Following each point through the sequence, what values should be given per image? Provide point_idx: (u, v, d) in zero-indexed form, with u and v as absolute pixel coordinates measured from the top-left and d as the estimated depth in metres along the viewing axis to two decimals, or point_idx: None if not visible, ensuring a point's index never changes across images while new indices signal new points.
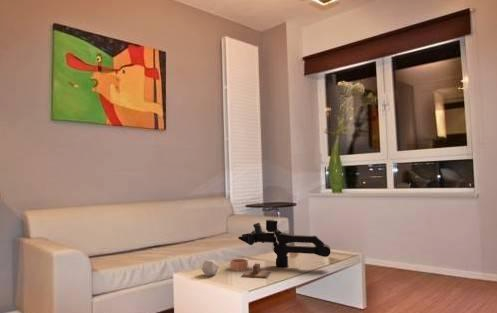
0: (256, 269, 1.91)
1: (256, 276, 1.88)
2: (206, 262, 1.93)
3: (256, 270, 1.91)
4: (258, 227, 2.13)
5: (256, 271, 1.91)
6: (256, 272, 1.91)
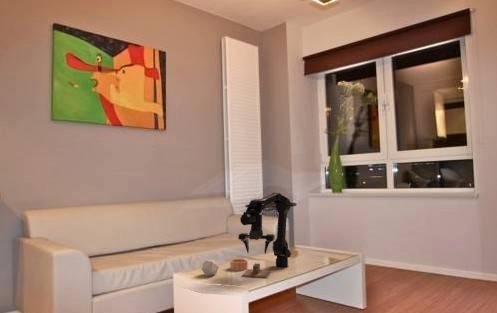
0: (256, 269, 1.91)
1: (256, 276, 1.88)
2: (206, 262, 1.93)
3: (256, 270, 1.91)
4: (262, 232, 1.88)
5: (256, 271, 1.91)
6: (256, 272, 1.91)
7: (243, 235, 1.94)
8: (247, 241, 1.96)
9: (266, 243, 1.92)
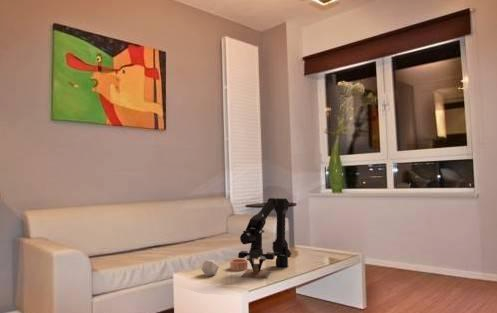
0: (256, 269, 1.91)
1: (256, 276, 1.88)
2: (206, 262, 1.93)
3: (256, 270, 1.91)
4: (262, 251, 1.88)
5: (256, 271, 1.91)
6: (256, 272, 1.91)
7: (243, 253, 1.93)
8: (253, 260, 1.95)
9: (260, 261, 1.92)
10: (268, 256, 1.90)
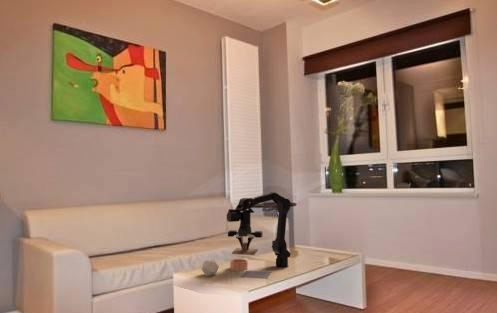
0: (245, 247, 1.99)
1: (245, 253, 1.96)
2: (206, 262, 1.93)
3: (245, 248, 1.99)
4: (250, 229, 1.96)
5: (245, 249, 1.99)
6: (245, 250, 1.99)
7: (232, 232, 2.01)
8: (242, 238, 2.03)
9: (249, 239, 2.00)
10: (256, 234, 1.99)
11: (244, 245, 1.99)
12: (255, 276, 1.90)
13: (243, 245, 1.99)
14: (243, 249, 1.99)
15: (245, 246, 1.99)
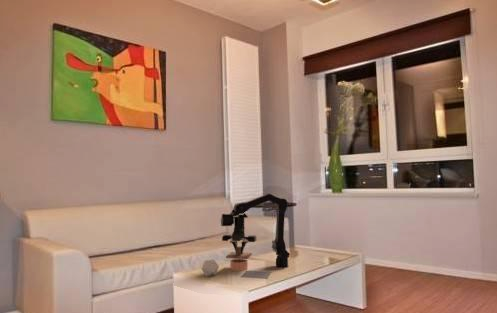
0: (238, 251, 2.04)
1: (238, 257, 2.01)
2: (206, 262, 1.93)
3: (238, 252, 2.04)
4: (244, 234, 2.00)
5: (238, 253, 2.04)
6: (238, 254, 2.04)
7: (226, 236, 2.06)
8: (236, 242, 2.08)
9: (242, 244, 2.05)
10: (250, 239, 2.03)
11: (238, 249, 2.04)
12: (255, 276, 1.90)
13: (237, 249, 2.04)
14: (237, 253, 2.04)
15: (239, 250, 2.04)
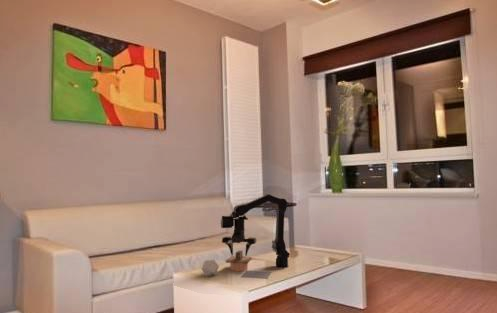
0: (238, 255, 2.04)
1: (238, 262, 2.00)
2: (206, 262, 1.93)
3: (238, 256, 2.04)
4: (244, 236, 2.00)
5: (238, 257, 2.03)
6: (238, 258, 2.03)
7: (226, 238, 2.06)
8: (231, 244, 2.08)
9: (247, 246, 2.04)
10: (250, 241, 2.03)
11: (238, 254, 2.04)
12: (255, 276, 1.90)
13: (237, 254, 2.04)
14: (237, 258, 2.04)
15: (239, 255, 2.04)
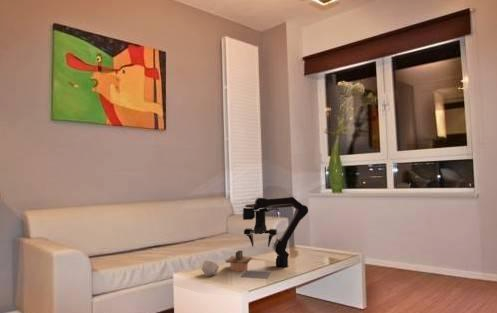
0: (238, 255, 2.04)
1: (238, 262, 2.00)
2: (206, 262, 1.93)
3: (238, 256, 2.04)
4: (265, 227, 2.06)
5: (238, 257, 2.03)
6: (238, 258, 2.03)
7: (248, 230, 2.11)
8: (252, 236, 2.14)
9: (269, 237, 2.09)
10: (271, 232, 2.08)
11: (238, 254, 2.04)
12: (255, 276, 1.90)
13: (237, 254, 2.04)
14: (237, 258, 2.04)
15: (239, 255, 2.04)
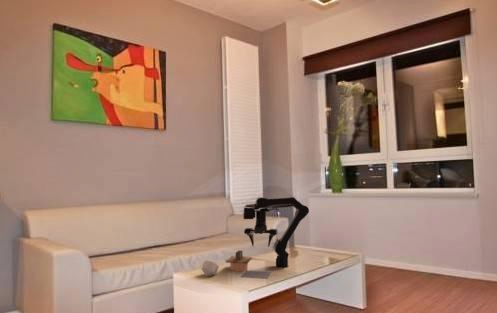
0: (238, 255, 2.04)
1: (238, 262, 2.00)
2: (206, 262, 1.93)
3: (238, 256, 2.04)
4: (266, 227, 2.06)
5: (238, 257, 2.03)
6: (238, 258, 2.03)
7: (248, 230, 2.12)
8: (252, 235, 2.14)
9: (270, 237, 2.09)
10: (271, 232, 2.08)
11: (238, 254, 2.04)
12: (255, 276, 1.90)
13: (237, 254, 2.04)
14: (237, 258, 2.04)
15: (239, 255, 2.04)
